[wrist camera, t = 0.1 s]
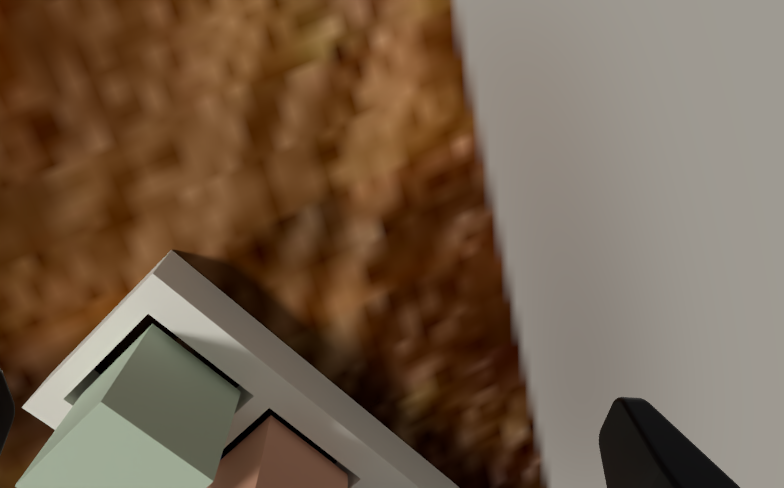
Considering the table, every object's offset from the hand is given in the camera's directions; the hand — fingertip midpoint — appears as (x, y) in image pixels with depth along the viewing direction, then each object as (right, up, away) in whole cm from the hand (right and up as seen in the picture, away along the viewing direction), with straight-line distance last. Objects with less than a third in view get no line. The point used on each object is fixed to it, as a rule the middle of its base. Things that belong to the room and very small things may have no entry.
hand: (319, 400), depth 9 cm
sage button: (-8, -4, +15) cm, 17 cm away
